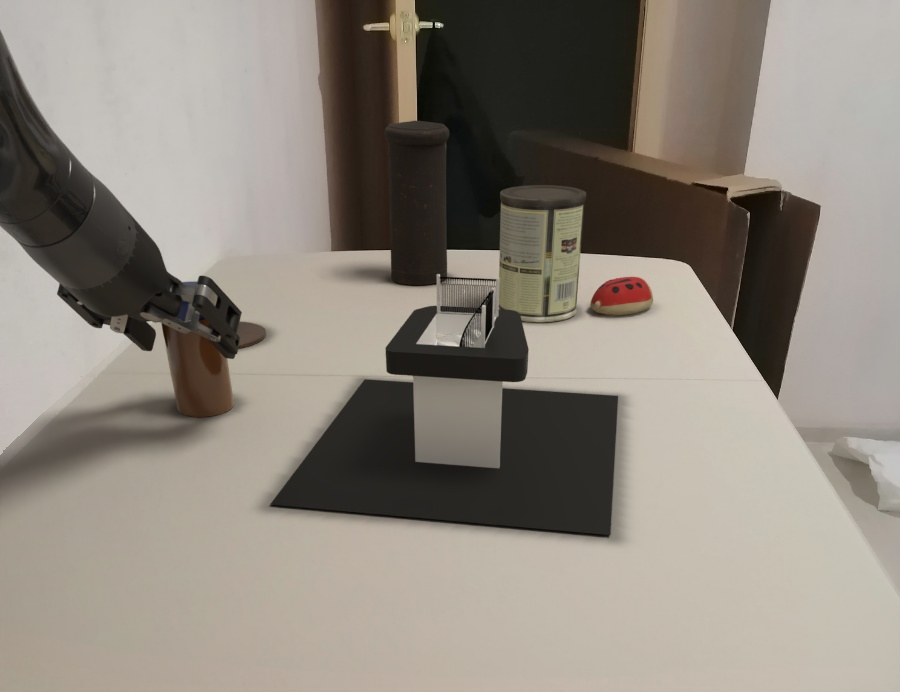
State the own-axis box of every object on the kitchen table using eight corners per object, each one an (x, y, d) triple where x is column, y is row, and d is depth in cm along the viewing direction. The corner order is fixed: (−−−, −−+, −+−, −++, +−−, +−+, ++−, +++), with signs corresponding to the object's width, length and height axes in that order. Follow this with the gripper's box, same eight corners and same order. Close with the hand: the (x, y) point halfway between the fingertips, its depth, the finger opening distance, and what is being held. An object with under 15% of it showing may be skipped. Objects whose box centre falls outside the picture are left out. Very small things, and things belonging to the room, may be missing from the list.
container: (455, 272, 125) (456, 118, 114) (441, 288, 118) (440, 125, 107) (399, 269, 127) (394, 116, 116) (382, 284, 120) (375, 123, 108)
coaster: (167, 349, 97) (167, 346, 96) (196, 323, 105) (196, 320, 105) (253, 352, 96) (252, 348, 96) (275, 325, 104) (275, 322, 104)
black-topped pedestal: (610, 536, 62) (632, 357, 54) (270, 505, 66) (246, 334, 58) (618, 397, 84) (634, 256, 77) (364, 380, 88) (356, 245, 81)
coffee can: (513, 296, 115) (518, 182, 107) (586, 305, 111) (597, 188, 103) (484, 316, 107) (486, 195, 99) (561, 327, 103) (570, 201, 95)
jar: (169, 416, 81) (146, 302, 74) (188, 395, 85) (168, 286, 79) (224, 418, 80) (205, 304, 74) (241, 397, 85) (225, 288, 78)
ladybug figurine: (664, 307, 111) (668, 278, 109) (618, 322, 105) (621, 293, 103) (622, 296, 115) (625, 269, 113) (576, 311, 109) (578, 282, 107)
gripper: (185, 200, 62) (270, 314, 78) (19, 192, 65) (133, 303, 81) (160, 293, 61) (252, 390, 76) (-7, 280, 64) (114, 376, 80)
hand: (191, 345), depth 79 cm, fingers open, 8 cm apart
